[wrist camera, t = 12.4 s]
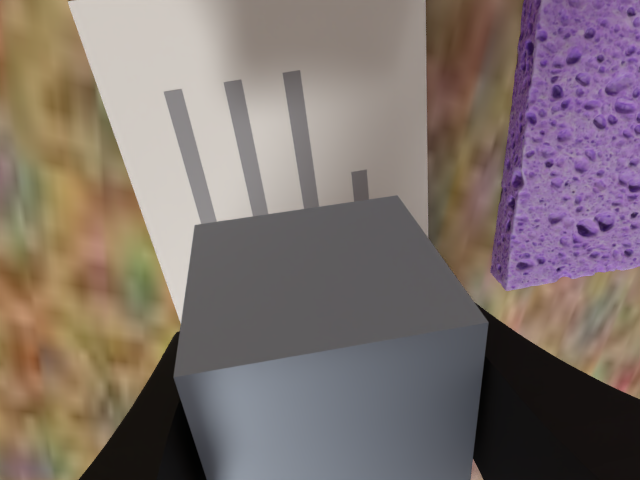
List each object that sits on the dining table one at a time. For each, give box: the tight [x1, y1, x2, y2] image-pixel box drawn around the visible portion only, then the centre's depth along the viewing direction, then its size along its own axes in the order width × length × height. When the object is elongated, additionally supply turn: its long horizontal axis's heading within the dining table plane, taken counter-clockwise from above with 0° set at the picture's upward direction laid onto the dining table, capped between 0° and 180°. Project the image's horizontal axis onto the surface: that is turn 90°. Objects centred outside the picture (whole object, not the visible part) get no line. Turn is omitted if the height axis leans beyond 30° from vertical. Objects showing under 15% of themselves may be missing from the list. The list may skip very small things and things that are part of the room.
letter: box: [68, 0, 428, 323], centre depth 19 cm, size 15×11×1 cm
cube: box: [173, 195, 489, 480], centre depth 11 cm, size 5×5×5 cm
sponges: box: [491, 0, 640, 291], centre depth 19 cm, size 7×13×2 cm, turn 5°
